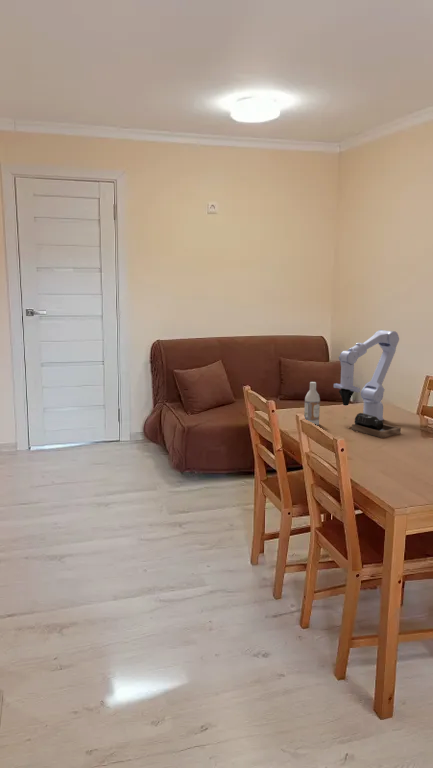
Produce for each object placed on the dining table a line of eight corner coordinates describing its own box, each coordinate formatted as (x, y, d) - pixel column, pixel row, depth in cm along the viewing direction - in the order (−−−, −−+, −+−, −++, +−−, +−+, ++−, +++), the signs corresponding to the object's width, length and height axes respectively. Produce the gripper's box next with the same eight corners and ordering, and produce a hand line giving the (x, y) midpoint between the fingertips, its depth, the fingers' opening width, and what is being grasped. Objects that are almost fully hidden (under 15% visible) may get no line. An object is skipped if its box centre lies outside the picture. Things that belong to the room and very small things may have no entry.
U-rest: (370, 425, 273) (370, 420, 272) (400, 433, 260) (400, 428, 259) (351, 430, 265) (352, 424, 265) (381, 438, 252) (381, 432, 252)
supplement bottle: (366, 416, 271) (387, 421, 261) (359, 429, 270) (380, 435, 260) (358, 410, 267) (379, 415, 257) (351, 423, 266) (372, 429, 256)
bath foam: (311, 426, 271) (312, 384, 267) (301, 423, 276) (302, 381, 273) (322, 424, 274) (323, 382, 271) (311, 421, 280) (313, 380, 276)
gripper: (329, 375, 276) (328, 403, 279) (353, 379, 265) (351, 409, 267) (339, 373, 280) (338, 401, 283) (363, 378, 269) (362, 407, 271)
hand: (345, 405), depth 275 cm, fingers closed
